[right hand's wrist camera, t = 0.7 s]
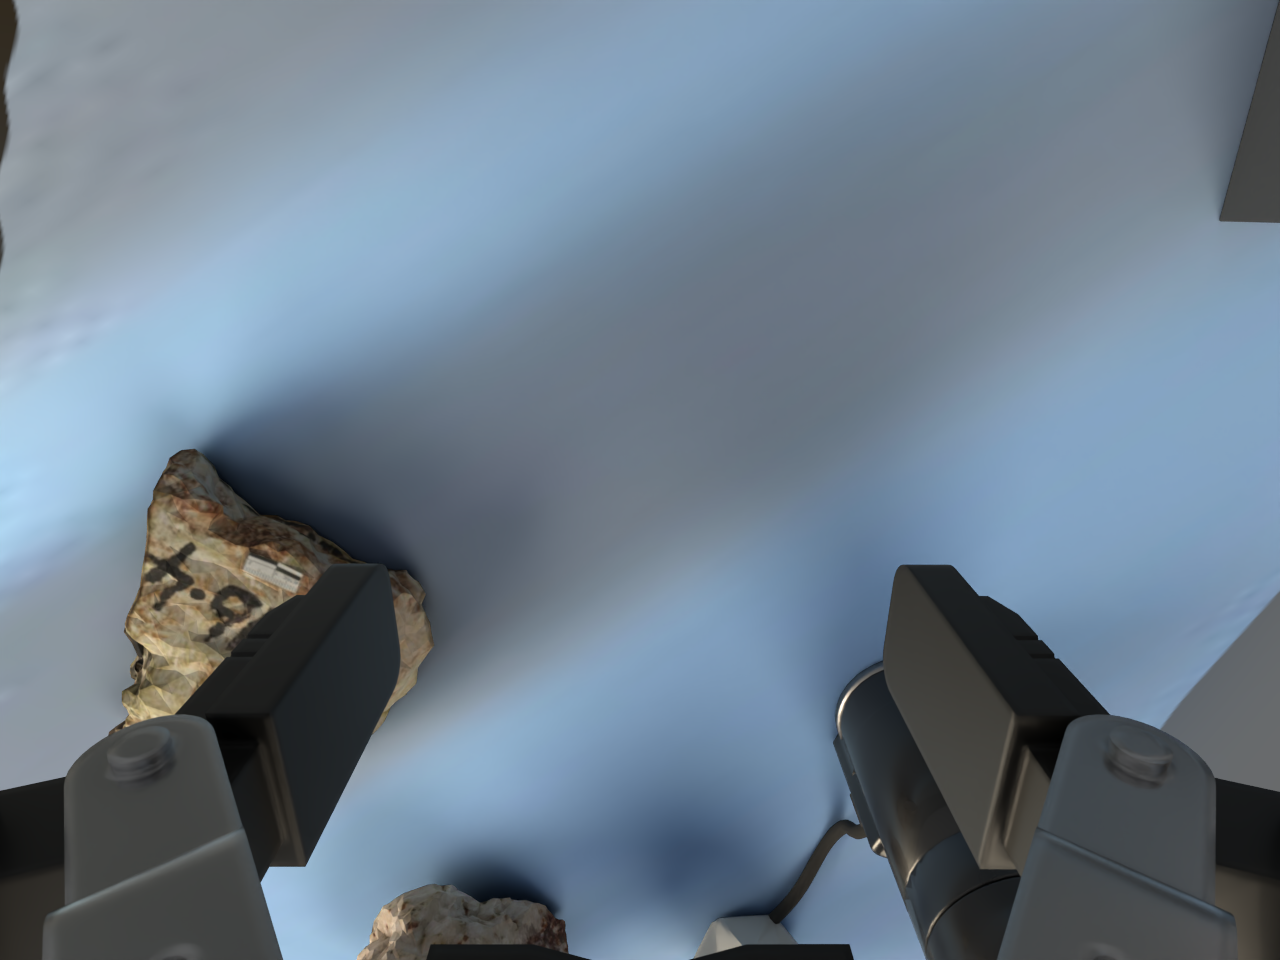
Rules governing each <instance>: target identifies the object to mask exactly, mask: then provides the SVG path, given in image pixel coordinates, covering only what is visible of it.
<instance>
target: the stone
mask: <svg viewBox="0 0 1280 960" xmlns="http://www.w3.org/2000/svg"><path fill="white" fill-rule="evenodd" d="M333 564H367V563H365V562H362V561H359V560H355V559H352V558H351V557H350V556H349V555H348V554H347V553H346V552H345V551H344V550H342V549H341V548H340V547H338V546H337V545H336V544H334V543H333V542H331V541H329V540H327V539H325V538H323V537H321V536H319V535H318V534H317V533H316V532H315V531H314V530H313V529H312V528H311V527H310V526H308V525H305V524H303V523H300V522H297V521H287V520H284V519H282V518H281V517H279V516H277V515H259V514H258V513H257V512H256V511H255V510H254V509H253V508H252V507H251V506H250V505H249V504H248V503H247V502H246V501H245V500H243V499H242V498H241V497H239V496H238V495H237V494H235V493H234V491H233V489H232V488H231V487H230V486H229V485H228V484H226V483H225V482H224V481H223V480H221V479H220V478H219V477H218V475H217V472H216V469H215V467H214V465H213V464H212V463H211V462H210V461H209V460H208V459H207V458H206V457H205V456H204V455H203V454H202V453H200V452H199V451H197V450H195V449H189V450H181V451H179V452H178V453H176V454H175V455H173V456H172V457H170V459H169V462H168V464H167V467H166V469H165V470H164V471H163V473H162V475H161V477H160V479H159V481H158V483H157V485H156V486H155V488H154V490H153V501H152V502H151V505H150V506H149V508H148V514H147V541H146V549H145V556H144V562H143V567H142V575H141V585H140V588H139V591H138V593H137V596H136V598H135V601H134V603H133V605H132V607H131V609H130V611H129V613H128V616H127V619H126V622H125V627H126V628H125V630H124V633H125V634H126V636H127V637H128V638H129V640H130V641H131V642H132V644H133V646H134V648H135V651H136V653H137V657H136V659H135V660H134V662H133V663H132V664H131V667H130V673H131V677H132V678H133V679H135V683H134V685H132V686H130V687H129V688H127V689H125V690H124V691H122V703H123V706H124V707H125V708H126V709H127V710H128V712H129V715H128V717H127V718H126V720H125V721H124V722H122V723H121V724H119V725H118V726H116V727H115V728H114V729H112V730H111V731H110V732H109V735H111V734H113V733H114V732H117V731H119V730H121V729H123V728H125V727H127V726H130V725H133V724H135V723H138V722H141V721H144V720H148V719H151V718H156V717H160V716H167V715H174V714H175V713H176V712H177V711H178V710H179V709H180V708H181V707H182V706H183V705H184V703H185V702H186V701H187V700H188V699H189V698H190V697H191V696H192V695H193V693H194V692H195V691H196V690H197V689H198V688H199V687H200V686H201V685H202V684H203V682H204V681H205V680H206V679H207V678H208V677H209V676H210V675H211V674H212V673H213V671H214V670H215V669H216V668H217V667H218V666H219V665H220V664H221V663H222V662H223V660H224V659H225V658H226V657H230V656H231V652H232V650H233V649H234V648H235V647H236V646H237V645H238V644H239V643H240V642H241V641H242V639H247V634H248V633H249V632H250V631H251V630H252V628H253V627H254V626H255V625H256V624H257V623H258V622H259V621H260V620H261V619H262V617H263V616H264V615H265V614H266V613H267V612H269V611H271V610H272V609H274V608H276V607H277V606H279V605H281V604H282V603H284V602H286V601H287V600H289V599H290V598H292V597H294V596H295V595H306V594H307V593H308V591H309V590H310V589H311V588H312V587H313V586H314V584H315V583H316V582H317V581H318V580H319V579H320V577H321V576H322V575H323V574H324V573H325V571H326V570H327V569H328V568H329V567H330V566H331V565H333ZM387 570H388V573H389V576H390V581H391V588H392V595H393V602H394V609H395V616H396V623H397V630H398V636H399V643H400V654H401V658H400V670H399V676H398V680H397V684H396V687H395V689H394V691H393V693H392V695H391V697H390V699H389V701H388V703H387V705H386V707H385V709H384V711H383V713H382V715H381V717H380V719H379V721H378V723H377V725H376V727H375V729H374V731H373V733H374V732H375V731H376V730H377V729H378V728H379V727H380V726H381V725H382V723H383V722H384V721H385V719H386V716H387V714H388V712H389V710H390V707H391V706H392V705H393V704H394V703H395V702H396V701H397V700H399V699H400V698H402V697H403V696H405V695H406V694H407V692H408V691H409V690H410V689H411V688H412V687H413V686H414V685H415V684H416V681H417V672H418V670H417V668H418V667H419V665H420V664H421V663H422V661H423V660H424V658H425V657H426V656H427V654H428V653H429V651H430V650H431V649H432V648H433V646H434V642H433V638H432V633H431V626H430V622H429V620H428V618H427V616H426V614H425V611H424V609H423V607H422V602H423V600H424V597H425V595H426V594H425V592H424V590H423V588H422V587H421V585H420V583H419V582H418V581H416V580H414V579H413V578H412V577H411V576H410V575H409V574H408V572H407V570H390V569H387ZM373 733H372V734H373ZM109 735H108V736H109Z"/></svg>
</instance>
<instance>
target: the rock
mask: <svg viewBox="0 0 1280 960" xmlns="http://www.w3.org/2000/svg"><path fill="white" fill-rule="evenodd" d="M431 944H534V945H538V946H542V947H545V948H549V949H553V950H556V951H560V952H564V953H568V944H567V938H566V932H565V921H564V920H558V919H556V918H555V917H554V916H553V914H552V913H551V912H550V911H549V910H548V909H547V907H546V906H545V905H542V904H540V903H533V902H530V901H527V900H512V899H511V898H501V899H499V898H492V899H490V900H488V901H486V902H481V903H480V902H478V901H476V900H475V899H474V898H472V897H471V896H469V895H467V894H466V893H463V892H461V891H459V890H458V889H457V888H456V887H455V886H453V885H443V886H440V885H437V884H430V885H426V886H423V887H420V888H418V889H415V890H412V891H409V892H406V893H403V894H402V895H400V896H398V897H397V898H395V899H394V900H393V901H392V902H390V903H389V904H386V905H384V906H383V907H382V909H381V911H380V913H379V914H378V916H377V917H376V919H375V920H374V924H373V929H372V934H371V935H370V944H369V945H368V946H366V947H365V948H364V949H363V950H362V951H361V952H360V954H359V955H358V957H357V960H426V959H427V955H428V952H429V948H430V945H431ZM568 954H569V953H568Z"/></svg>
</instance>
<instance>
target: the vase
mask: <svg viewBox="0 0 1280 960" xmlns="http://www.w3.org/2000/svg"><path fill="white" fill-rule="evenodd" d="M746 944H798V943H797V942H796V941H795V940H794V938H793V937H792V936H791V935H790V934H789V932H788V931H787V930H786V929H785V928H784V926H783V925H782V924H781V923H779V924H775V923H773V921H772V920H771V919H770V918H769V915H752V916H738V917H725V918H718V919H717V920H716V921H715V922H712V923H711V925H710V926H709V928H708V930H707V932H706V934H705V936H704V938H703V940H702V942H701V944H700V946H699V948H698V950H697V952H696V954H695V956H694V958H698V957H701V956H705V955H709V954H712V953H716V952H720V951H724V950H727V949H731V948H735V947H738V946H742V945H746ZM694 958H693V959H694Z"/></svg>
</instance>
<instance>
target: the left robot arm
mask: <svg viewBox="0 0 1280 960" xmlns="http://www.w3.org/2000/svg"><path fill="white" fill-rule="evenodd" d="M835 721H836V727H837V730H838V735H837V737H836V738H835V740H834V741H833V744H834V747H835V750H836V753H837V756H838V758H839V761H840V764H841V767H842V769H843V772H844V775H845V778H846V781H847V783H848V786H849V789H850V792H851V794H850V797H851V800H852V803H853V806H854V808H855V811H856V814H857V817H858V820H859V822H860V824H859V825H856V824H855V823H853V822H851V821H849V820H841V821H839V822H837V823H836V824H835V825H833V826H832V827H831V828H830V829H829V830H828V831H827V833H826V834H825V836H824V837H823V838H822V840H821V841H820V843H819V844H818V846H817V848H816V849H815V851H814V853H813V854H812V856H811V858H810V859H809V861H808V863H807V865H806V867H805V868H804V870H803V872H802V874H801V875H800V877H799V879H798V880H797V882H796V883H795V885H794V887H793V888H792V889H791V891H790V892H789V893H788V895H787V896H786V897H785V898H784V899H783V900H782V901H781V903H780V904H779V905H778V906H777V907H776V908H775V909H774V910H773V911H772V912H771V913H770V914H769V918H770V919H771V920H772V921H773V923H775V924H779V923H780V922H781V921H782V920H783V919H784V918H785V917H786V916H787V915H788V914H789V913H790V912H791V910H792V909H793V908H794V907H795V906H796V905H797V903H798V902H799V901H800V899H801V898H802V897H803V895H804V894H805V892H806V891H807V889H808V888H809V886H810V884H811V883H812V881H813V879H814V877H815V876H816V874H817V872H818V870H819V868H820V866H821V865H822V863H823V861H824V859H825V857H826V856H827V854H828V853H829V851H830V849H831V848H832V847H833V845H834V844H835V843H836V842H837V841H838V840H839V839H840V838H841V837H842V836H843V835H845V834H846V833H847V834H848V835H849V836H851V837H853V838H855V839H862V838H865V837H867V839H868V842H869V845H870V847H871V849H872V851H873V852H874V853H876V854H877V855H879V856H882V857H885V858H887V859H888V861H889V864H890V867H891V869H892V872H893V874H894V877H895V880H896V882H897V885H898V888H899V890H900V893H901V896H902V898H903V901H904V903H905V906H906V909H907V911H908V913H909V916H910V919H911V921H912V924H913V927H914V929H915V932H916V935H917V937H918V940H919V942H920V945H921V948H922V950H923V953H924V956H925V958H926V960H997V958H998V954H999V951H1000V948H1001V944H1002V941H1003V938H1004V934H1005V931H1006V927H1007V924H1008V921H1009V917H1010V914H1011V910H1012V907H1013V904H1014V900H1015V897H1016V893H1017V890H1018V887H1019V883H1020V880H1021V876H1020V875H1019V873H1018V871H1017V869H980V868H979V866H978V864H977V862H976V860H975V858H974V856H973V854H972V852H971V850H970V848H969V846H968V844H967V842H966V841H965V839H964V837H963V835H962V833H961V831H960V829H959V827H958V825H957V823H956V821H955V819H954V817H953V815H952V813H951V811H950V809H949V807H948V805H947V803H946V801H945V799H944V797H943V795H942V793H941V791H940V789H939V787H938V786H937V784H936V782H935V780H934V778H933V776H932V774H931V772H930V770H929V768H928V766H927V764H926V762H925V760H924V758H923V756H922V754H921V752H920V750H919V748H918V746H917V744H916V742H915V740H914V738H913V736H912V734H911V733H910V731H909V729H908V727H907V725H906V723H905V721H904V719H903V717H902V715H901V713H900V711H899V709H898V707H897V705H896V703H895V701H894V699H893V697H892V695H891V693H890V691H889V689H888V686H887V683H886V679H885V674H884V666H883V661H882V662H879V663H877V664H874V665H872V666H870V667H869V668H867V669H865V670H864V671H862V672H861V673H859V674H858V675H857V676H856V677H855V678H854V679H853V680H851V682H850V683H849V684H848V685H847V686H846V688H845V689H844V691H843V692H842V694H841V696H840V698H839V700H838V703H837V707H836V714H835Z"/></svg>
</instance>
